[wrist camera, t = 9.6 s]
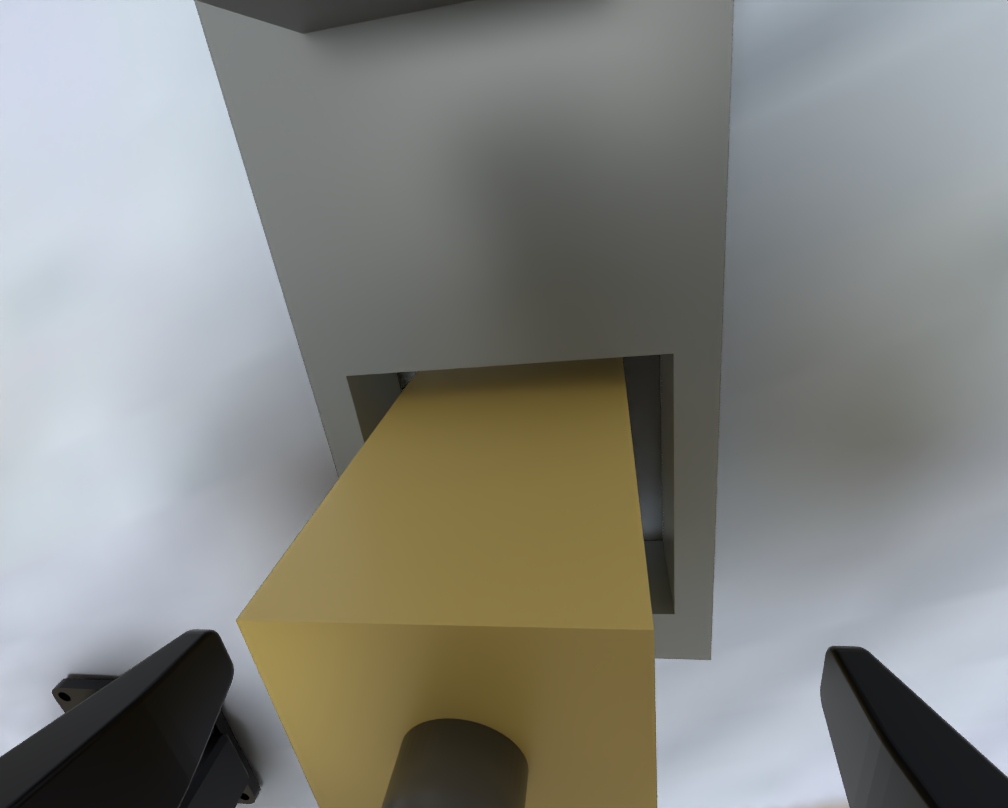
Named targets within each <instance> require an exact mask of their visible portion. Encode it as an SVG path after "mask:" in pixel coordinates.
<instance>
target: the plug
mask: <svg viewBox="0 0 1008 808" xmlns="http://www.w3.org/2000/svg"><path fill="white" fill-rule="evenodd" d="M236 622H237V624H238V626H239V628H240V631H241V633H242V635H243V637H244V640H245V642H246V644H247V646H248V649H249V651H250V653H251V655H252V658H253V660H254V662H255V664H256V667H257V669H258V671H259V673H260V676H261V678H262V680H263V682H264V684H265V687H266V689H267V691H268V693H269V696H270V698H271V700H272V702H273V705H274V707H275V709H276V711H277V714H278V716H279V718H280V720H281V723H282V725H283V727H284V729H285V732H286V734H287V736H288V738H289V740H290V743H291V745H292V747H293V749H294V752H295V754H296V756H297V758H298V761H299V763H300V765H301V767H302V770H303V772H304V774H305V776H306V779H307V781H308V783H309V785H310V787H311V790H312V792H313V794H314V796H315V799H316V801H317V803H318V805H319V808H657V767H656V712H655V657H654V626H653V617H652V608H651V599H650V591H649V582H648V573H647V565H646V556H645V547H644V539H643V530H642V521H641V513H640V504H639V495H638V486H637V478H636V469H635V460H634V452H633V443H632V434H631V426H630V417H629V408H628V400H627V391H626V382H625V373H624V365H623V357H616V358H601V359H587V360H572V361H558V362H543V363H528V364H514V365H499V366H485V367H470V368H455V369H441V370H426V371H417V372H416V373H415V375H414V376H413V377H412V379H411V380H410V382H409V383H408V384H407V386H406V387H405V388H404V390H403V391H402V393H401V394H400V395H399V397H398V398H397V399H396V401H395V402H394V404H393V405H392V406H391V408H390V409H389V410H388V412H387V413H386V415H385V416H384V417H383V419H382V420H381V421H380V423H379V424H378V426H377V427H376V428H375V430H374V431H373V432H372V434H371V435H370V437H369V438H368V439H367V441H366V442H365V443H364V445H363V446H362V448H361V449H360V450H359V452H358V453H357V454H356V456H355V457H354V459H353V460H352V461H351V463H350V464H349V465H348V467H347V468H346V470H345V471H344V472H343V474H342V475H341V476H340V478H339V479H338V481H337V482H336V483H335V485H334V486H333V487H332V489H331V490H330V492H329V493H328V494H327V496H326V497H325V498H324V500H323V501H322V503H321V504H320V505H319V507H318V508H317V509H316V511H315V512H314V514H313V515H312V516H311V518H310V519H309V520H308V522H307V523H306V525H305V526H304V527H303V529H302V530H301V531H300V533H299V534H298V536H297V537H296V538H295V540H294V541H293V542H292V544H291V545H290V547H289V548H288V549H287V551H286V552H285V553H284V555H283V556H282V558H281V559H280V560H279V562H278V563H277V564H276V566H275V567H274V569H273V570H272V571H271V573H270V574H269V575H268V577H267V578H266V580H265V581H264V582H263V584H262V585H261V586H260V588H259V589H258V591H257V592H256V593H255V595H254V596H253V597H252V599H251V600H250V602H249V603H248V604H247V606H246V607H245V608H244V610H243V611H242V613H241V614H240V615H239V617H238V618H237V619H236Z"/></svg>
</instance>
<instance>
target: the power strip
mask: <svg viewBox="0 0 1008 808" xmlns="http://www.w3.org/2000/svg"><path fill="white" fill-rule="evenodd" d="M194 1H195V5H196V8H197V11H198V15H199V18H200V21H201V24H202V28H203V31H204V34H205V38H206V41H207V44H208V48H209V51H210V54H211V57H212V61H213V64H214V67H215V71H216V74H217V77H218V81H219V84H220V87H221V90H222V94H223V97H224V100H225V104H226V107H227V110H228V114H229V117H230V120H231V123H232V127H233V130H234V133H235V137H236V140H237V143H238V147H239V150H240V153H241V156H242V160H243V163H244V166H245V170H246V173H247V176H248V180H249V183H250V186H251V189H252V193H253V196H254V199H255V203H256V206H257V209H258V213H259V216H260V219H261V222H262V226H263V229H264V232H265V236H266V239H267V242H268V246H269V249H270V252H271V255H272V259H273V262H274V265H275V269H276V272H277V275H278V279H279V282H280V285H281V289H282V292H283V295H284V298H285V302H286V305H287V308H288V312H289V315H290V318H291V322H292V325H293V328H294V331H295V335H296V338H297V341H298V345H299V348H300V351H301V355H302V358H303V361H304V364H305V368H306V371H307V374H308V378H309V381H310V384H311V388H312V391H313V394H314V397H315V401H316V404H317V407H318V411H319V414H320V417H321V421H322V424H323V427H324V430H325V434H326V437H327V440H328V444H329V447H330V450H331V454H332V457H333V460H334V463H335V467H336V470H337V473H338V477H339V478H340V476H341V475H342V474H343V472H344V471H345V470H346V468H347V467H348V465H349V464H350V463H351V461H352V460H353V459H354V457H355V456H356V454H357V453H358V452H359V450H360V449H361V448H362V446H363V445H364V443H365V442H366V441H367V439H368V438H369V437H370V435H371V434H372V432H373V431H374V430H375V428H376V427H377V426H378V424H379V423H380V421H381V420H382V419H383V417H384V416H385V415H386V413H387V412H388V410H389V409H390V408H391V406H392V405H393V404H394V402H395V401H396V399H397V398H398V397H399V395H400V394H401V389H400V384H399V380H398V376H397V372H412V371H426V370H441V369H455V368H470V367H485V366H499V365H514V364H528V363H543V362H558V361H572V360H587V359H601V358H616V357H631V356H645V355H660V378H661V447H662V516H663V541H644V547H645V556H646V565H647V573H648V582H649V591H650V599H651V608H652V617H653V626H654V657H655V658H664V659H698V660H711V641H712V612H713V583H714V554H715V526H716V497H717V468H718V439H719V410H720V382H721V353H722V324H723V295H724V267H725V238H726V209H727V180H728V152H729V123H730V94H731V65H732V37H733V8H734V0H194Z"/></svg>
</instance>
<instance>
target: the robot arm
mask: <svg viewBox="0 0 1008 808" xmlns="http://www.w3.org/2000/svg"><path fill="white" fill-rule="evenodd" d="M233 675H234V667H233V663H232V661H231V659H230V656H229V654H228V652H227V650H226V648H225V646H224V644H223V642H222V640H221V638H220V636H219V634H218V633H217V632H216V631H214V630H199V629H195V630H189V631H187V632H185V633H184V634H182V635H181V636H179V637H178V638H176V639H175V640H173V641H172V642H170V643H169V644H167V645H166V646H164V647H163V648H161V649H160V650H158V651H157V652H155V653H154V654H152V655H151V656H149V657H148V658H146V659H145V660H143V661H142V662H140V663H139V664H138V665H136V666H135V667H133V668H132V669H130V670H129V671H127V672H126V673H124V674H123V675H121V676H120V677H118V678H117V679H115V680H93V679H71V678H66V679H63V680H62V681H61V682H60V683H59V684H58V685H57V686H56V687H55V688H54V689H53V690H52V694H53V696H54V698H55V699H56V701H57V702H58V703H59V705H60V706H61V708H62V709H63V711H64V712H65V714H63V715H62V716H60V717H59V718H57V719H56V720H54V721H53V722H51V723H50V724H48V725H47V726H46V727H44V728H43V729H41V730H40V731H38V732H37V733H35V734H34V735H32V736H31V737H29V738H28V739H26V740H25V741H23V742H22V743H20V744H19V745H17V746H16V747H14V748H13V749H11V750H10V751H8V752H7V753H5V754H4V755H2V756H1V757H0V808H235V807H236V805H237V803H243V804H252V803H254V802H255V800H256V798H257V796H258V794H259V792H260V790H261V789H260V786H259V784H258V782H257V780H256V778H255V776H254V774H253V772H252V770H251V768H250V766H249V765H248V763H247V761H246V759H245V757H244V755H243V753H242V751H241V749H240V747H239V745H238V743H237V741H236V739H235V737H234V735H233V734H232V732H231V730H230V728H229V726H228V724H227V722H226V720H225V718H224V716H223V714H222V712H221V707H222V705H223V702H224V700H225V697H226V695H227V693H228V690H229V688H230V685H231V683H232V679H233ZM820 696H821V703H822V708H823V711H824V715H825V719H826V722H827V726H828V730H829V733H830V737H831V741H832V744H833V748H834V752H835V755H836V759H837V763H838V766H839V770H840V774H841V777H842V781H843V785H844V788H845V792H846V796H847V799H848V803H849V807H850V808H1008V777H1007V776H1006V775H1005V774H1004V773H1002V772H1001V771H1000V770H999V769H998V768H997V767H996V766H995V765H994V764H993V763H991V762H990V761H989V760H988V759H987V758H986V757H985V756H984V755H983V754H981V753H980V752H979V751H978V750H977V749H976V748H975V747H974V746H973V745H972V744H970V743H969V742H968V741H967V740H966V739H965V738H964V737H963V736H962V735H960V734H959V733H958V732H957V731H956V730H955V729H954V728H953V727H952V726H951V725H949V724H948V723H947V722H946V721H945V720H944V719H943V718H942V717H941V716H940V715H938V714H937V713H936V712H935V711H934V710H933V709H932V708H931V707H930V706H928V705H927V704H926V703H925V702H924V701H923V700H922V699H921V698H920V697H919V696H917V695H916V694H915V693H914V692H913V691H912V690H911V689H910V688H909V687H907V686H906V685H905V684H904V683H903V682H902V681H901V680H900V679H899V678H898V677H896V676H895V675H894V674H893V673H892V672H891V671H890V670H889V669H888V668H887V667H885V666H884V665H883V664H882V663H881V662H880V661H879V660H878V659H877V658H875V657H874V656H873V655H872V654H871V653H870V652H869V651H867V650H866V649H864V648H862V647H856V646H831V647H829V648H828V650H827V652H826V655H825V661H824V668H823V674H822V680H821V687H820Z"/></svg>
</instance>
